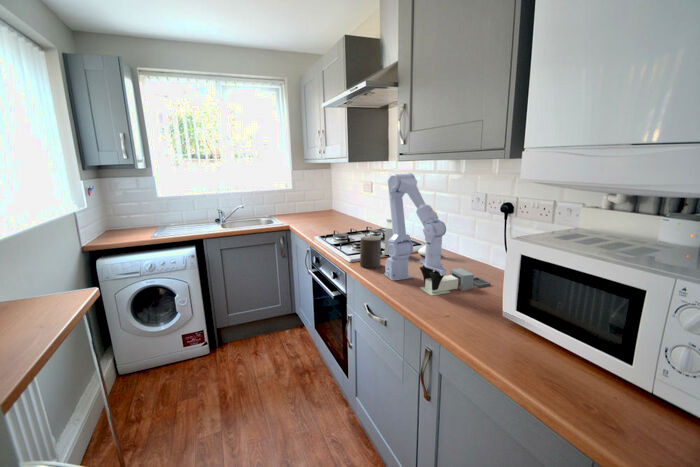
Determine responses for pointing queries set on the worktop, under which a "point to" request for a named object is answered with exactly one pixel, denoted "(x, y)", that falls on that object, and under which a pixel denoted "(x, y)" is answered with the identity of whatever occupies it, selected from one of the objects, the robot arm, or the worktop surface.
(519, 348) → the worktop surface
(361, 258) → the pillar candle
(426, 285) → the long ivory beam
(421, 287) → the pad
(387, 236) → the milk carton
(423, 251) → the flower in vase
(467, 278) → the tunnel
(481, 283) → the tray
